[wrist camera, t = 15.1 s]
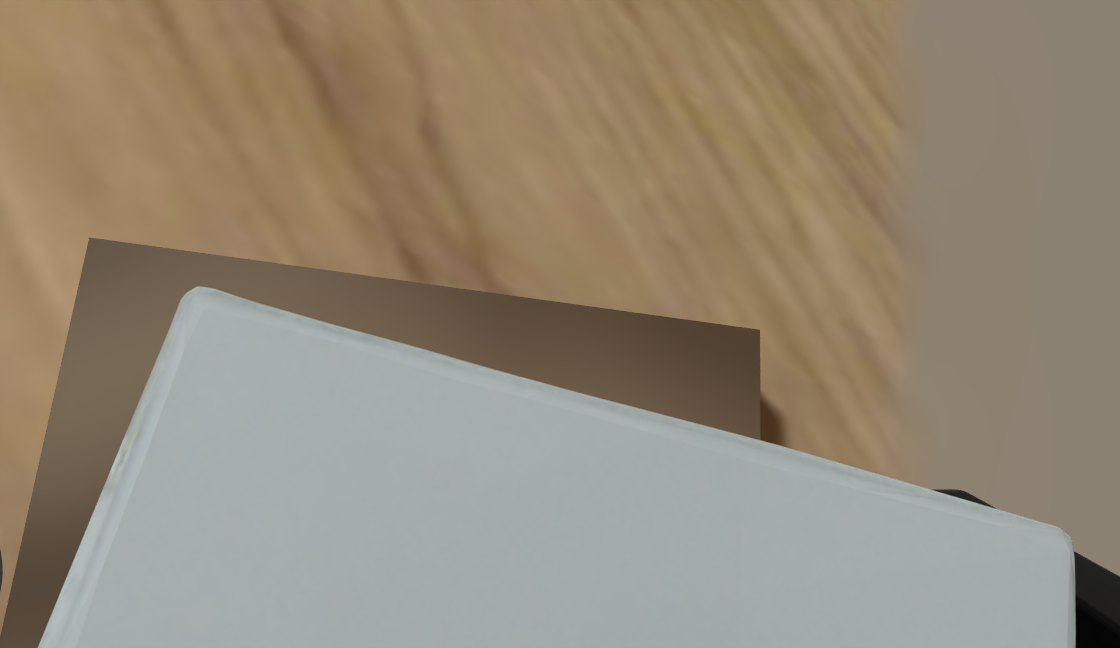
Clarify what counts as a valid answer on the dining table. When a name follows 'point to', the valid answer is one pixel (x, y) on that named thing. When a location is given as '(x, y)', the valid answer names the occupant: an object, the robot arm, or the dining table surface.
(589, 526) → the skincare box
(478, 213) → the dining table surface
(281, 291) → the walnut plinth
